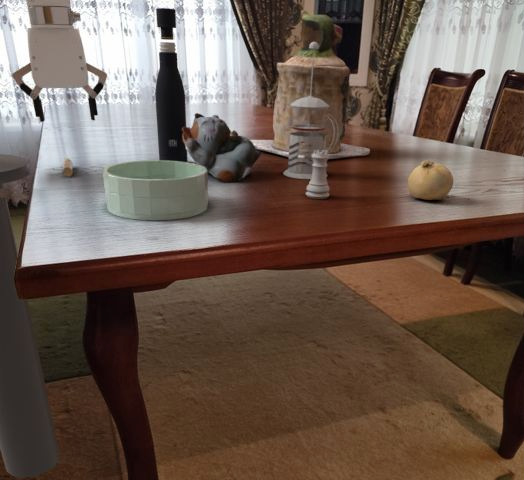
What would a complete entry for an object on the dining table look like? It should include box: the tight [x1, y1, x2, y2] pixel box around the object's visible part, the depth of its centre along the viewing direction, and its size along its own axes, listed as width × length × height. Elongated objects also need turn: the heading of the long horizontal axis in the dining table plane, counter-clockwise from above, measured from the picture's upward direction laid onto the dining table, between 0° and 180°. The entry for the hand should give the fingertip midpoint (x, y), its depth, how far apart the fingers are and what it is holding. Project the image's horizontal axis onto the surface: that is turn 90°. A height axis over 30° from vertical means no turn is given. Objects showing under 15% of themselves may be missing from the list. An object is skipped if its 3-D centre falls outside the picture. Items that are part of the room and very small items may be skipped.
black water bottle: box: [154, 7, 189, 162], centre depth 114 cm, size 6×6×30 cm
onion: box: [407, 159, 454, 201], centre depth 96 cm, size 8×8×7 cm
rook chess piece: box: [305, 150, 330, 200], centre depth 95 cm, size 4×4×8 cm
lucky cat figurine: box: [182, 112, 262, 183], centre depth 108 cm, size 15×12×14 cm
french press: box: [282, 42, 339, 180], centre depth 108 cm, size 10×12×25 cm
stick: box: [62, 158, 73, 178], centre depth 109 cm, size 10×2×2 cm
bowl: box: [102, 159, 209, 221], centre depth 86 cm, size 16×16×6 cm
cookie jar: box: [249, 10, 371, 161], centre depth 132 cm, size 25×25×32 cm
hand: (68, 120), depth 105 cm, fingers open, 9 cm apart
